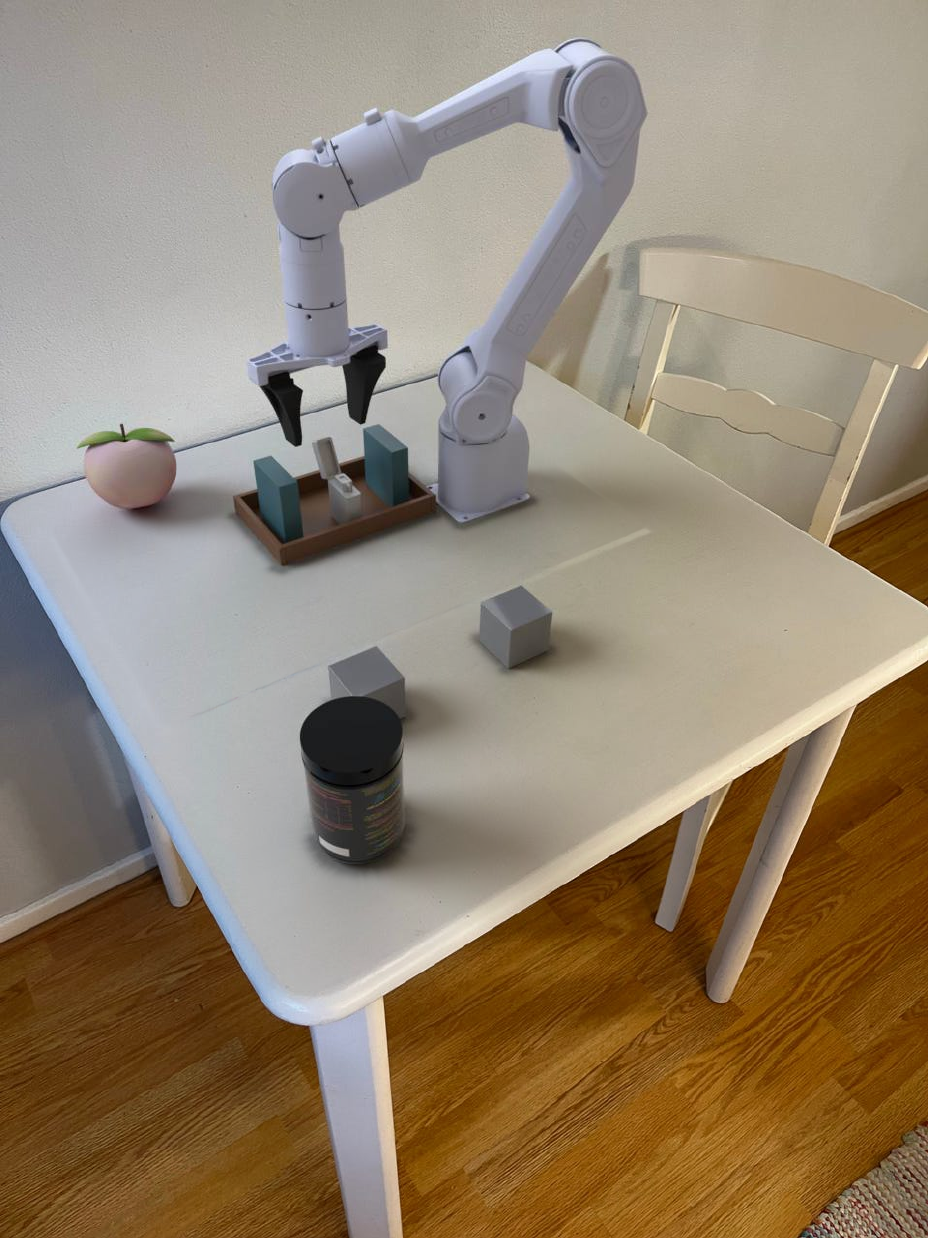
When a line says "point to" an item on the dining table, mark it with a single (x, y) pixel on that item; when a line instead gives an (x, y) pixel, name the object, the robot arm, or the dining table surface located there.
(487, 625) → the grey cube
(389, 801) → the supplement container
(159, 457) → the decorative fruit
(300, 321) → the robot arm
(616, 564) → the dining table surface
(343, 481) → the lighter
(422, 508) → the tray
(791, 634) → the dining table surface
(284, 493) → the slab
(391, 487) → the slab
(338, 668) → the grey cube
